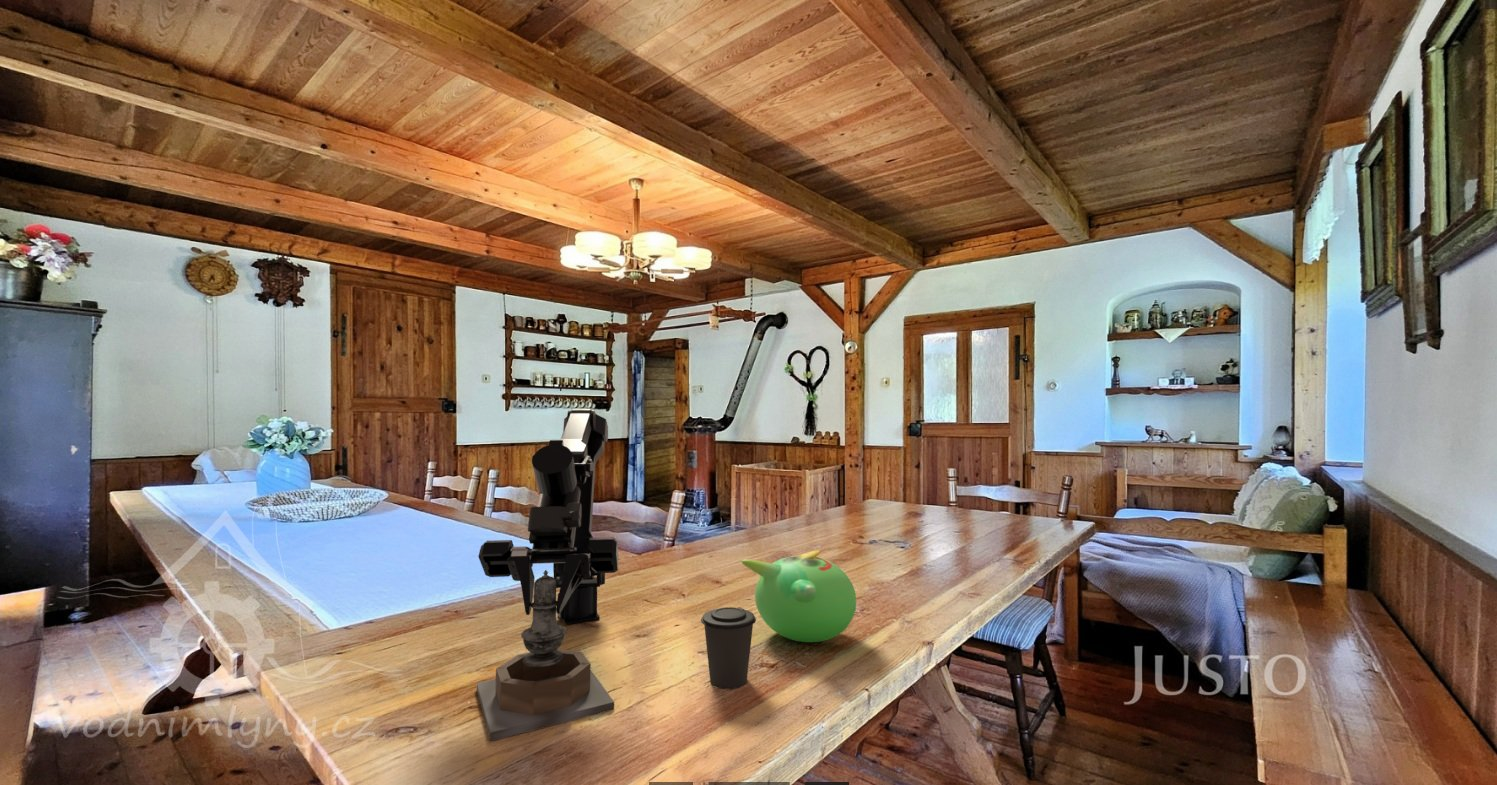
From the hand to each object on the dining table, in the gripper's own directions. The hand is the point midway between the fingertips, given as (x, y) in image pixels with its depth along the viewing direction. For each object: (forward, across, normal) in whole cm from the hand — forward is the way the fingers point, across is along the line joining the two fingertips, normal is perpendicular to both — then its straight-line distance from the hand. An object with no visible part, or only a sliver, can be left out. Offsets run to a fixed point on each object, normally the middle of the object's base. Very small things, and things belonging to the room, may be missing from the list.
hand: (542, 612), depth 79 cm
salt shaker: (+4, 0, +6) cm, 7 cm away
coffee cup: (+6, +26, +11) cm, 28 cm away
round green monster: (-4, +40, +22) cm, 46 cm away
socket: (+8, 0, +9) cm, 12 cm away
